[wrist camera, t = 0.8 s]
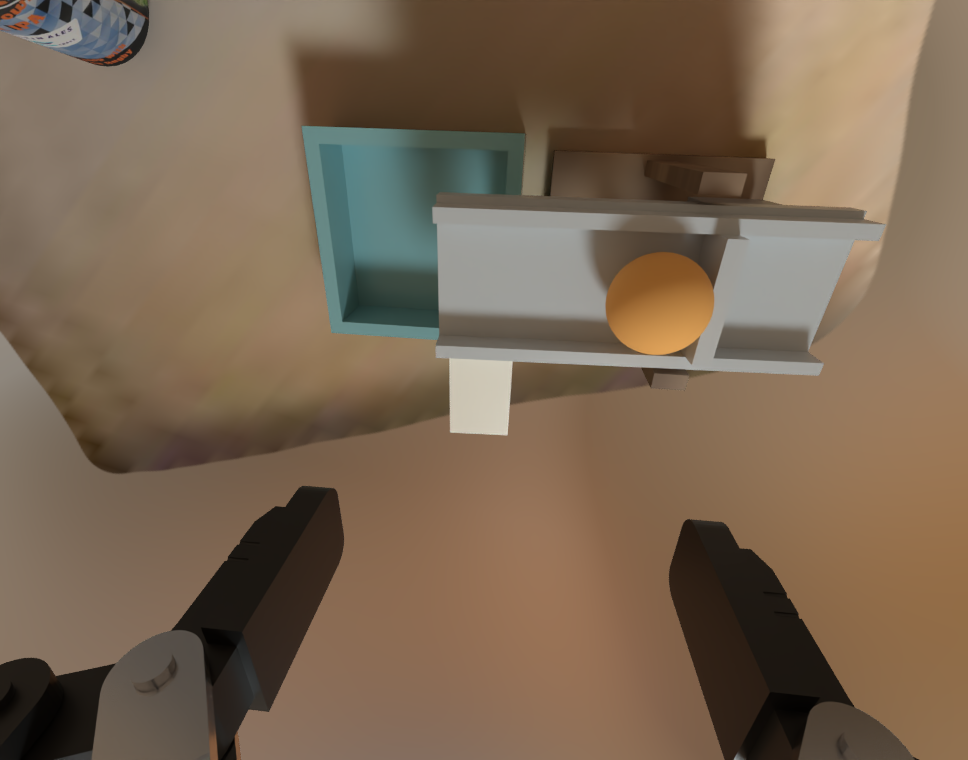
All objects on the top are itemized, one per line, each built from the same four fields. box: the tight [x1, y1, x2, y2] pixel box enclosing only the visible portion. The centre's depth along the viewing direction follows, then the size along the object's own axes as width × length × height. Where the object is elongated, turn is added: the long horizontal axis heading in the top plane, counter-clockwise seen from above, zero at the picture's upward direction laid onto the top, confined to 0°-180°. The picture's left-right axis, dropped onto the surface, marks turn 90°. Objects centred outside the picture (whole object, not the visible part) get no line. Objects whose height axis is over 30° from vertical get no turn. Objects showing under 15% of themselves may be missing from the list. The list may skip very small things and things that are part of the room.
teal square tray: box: [302, 126, 526, 340], centre depth 27 cm, size 12×12×4 cm
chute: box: [432, 192, 886, 435], centre depth 23 cm, size 17×12×10 cm
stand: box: [550, 151, 775, 391], centre depth 24 cm, size 12×10×10 cm
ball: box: [605, 252, 714, 355], centre depth 18 cm, size 4×4×4 cm
